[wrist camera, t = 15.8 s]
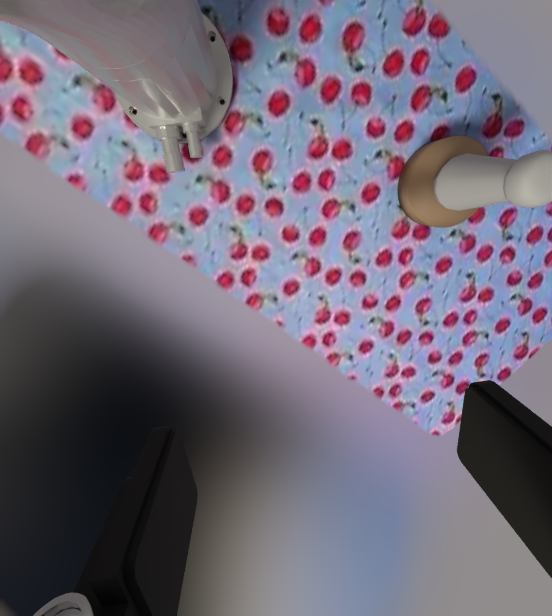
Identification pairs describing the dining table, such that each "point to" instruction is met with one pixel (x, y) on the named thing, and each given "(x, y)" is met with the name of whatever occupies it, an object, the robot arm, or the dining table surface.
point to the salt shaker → (495, 181)
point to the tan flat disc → (420, 176)
